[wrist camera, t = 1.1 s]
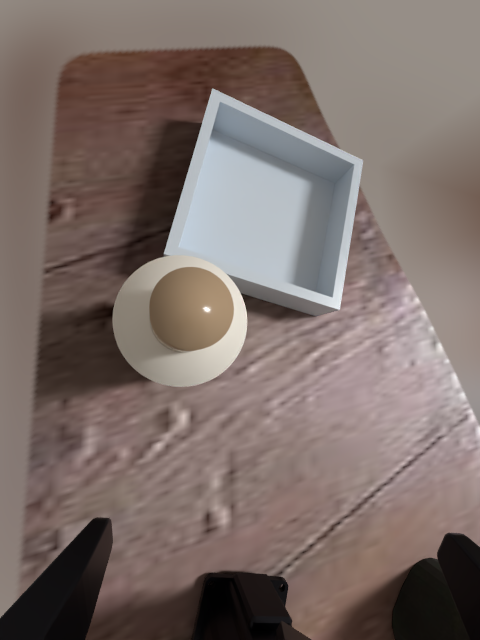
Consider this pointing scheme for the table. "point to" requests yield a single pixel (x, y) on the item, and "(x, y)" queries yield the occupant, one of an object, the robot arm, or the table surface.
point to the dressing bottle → (179, 321)
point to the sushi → (427, 606)
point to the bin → (268, 207)
